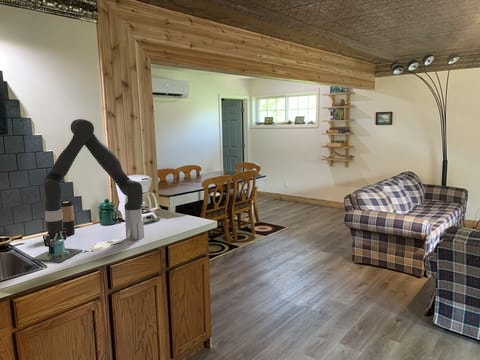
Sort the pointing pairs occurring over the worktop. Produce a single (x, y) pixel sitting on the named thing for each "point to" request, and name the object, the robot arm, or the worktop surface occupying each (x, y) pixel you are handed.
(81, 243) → the worktop surface
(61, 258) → the plate
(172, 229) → the worktop surface
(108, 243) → the cloth
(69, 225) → the travel mug
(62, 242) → the teal cap
